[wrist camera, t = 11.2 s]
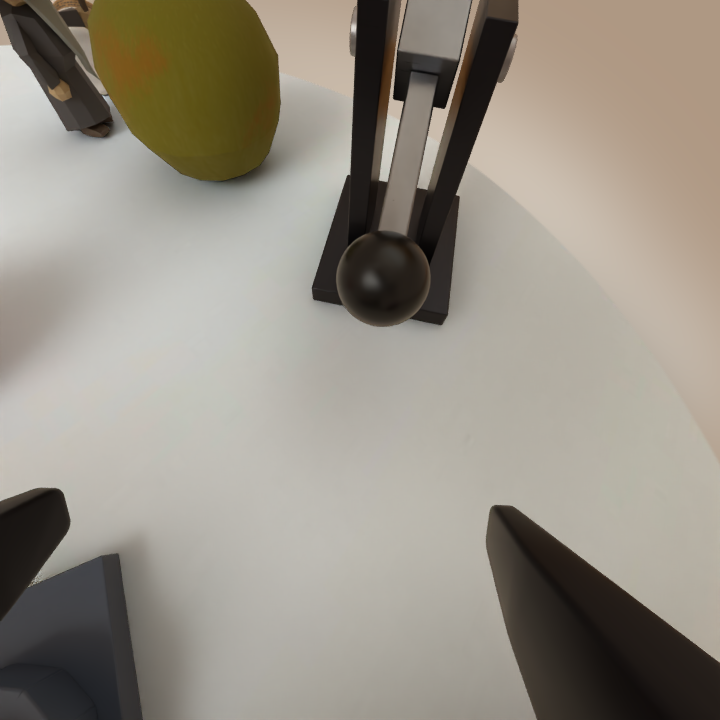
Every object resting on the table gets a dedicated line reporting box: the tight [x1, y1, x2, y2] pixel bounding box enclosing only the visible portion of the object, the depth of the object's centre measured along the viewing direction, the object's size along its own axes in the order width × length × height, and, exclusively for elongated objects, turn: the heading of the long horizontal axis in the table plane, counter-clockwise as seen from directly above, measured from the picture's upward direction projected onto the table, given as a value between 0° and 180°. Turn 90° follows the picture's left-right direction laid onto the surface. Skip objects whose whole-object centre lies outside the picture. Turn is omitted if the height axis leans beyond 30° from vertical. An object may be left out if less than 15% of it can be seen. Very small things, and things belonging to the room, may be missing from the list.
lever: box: [336, 0, 472, 327], centre depth 13 cm, size 12×4×4 cm, turn 169°
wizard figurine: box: [0, 0, 113, 137], centre depth 21 cm, size 8×6×12 cm
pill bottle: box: [52, 0, 108, 95], centre depth 28 cm, size 4×4×8 cm
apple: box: [87, 0, 281, 181], centre depth 21 cm, size 10×10×11 cm
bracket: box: [312, 0, 518, 325], centre depth 17 cm, size 10×8×13 cm
